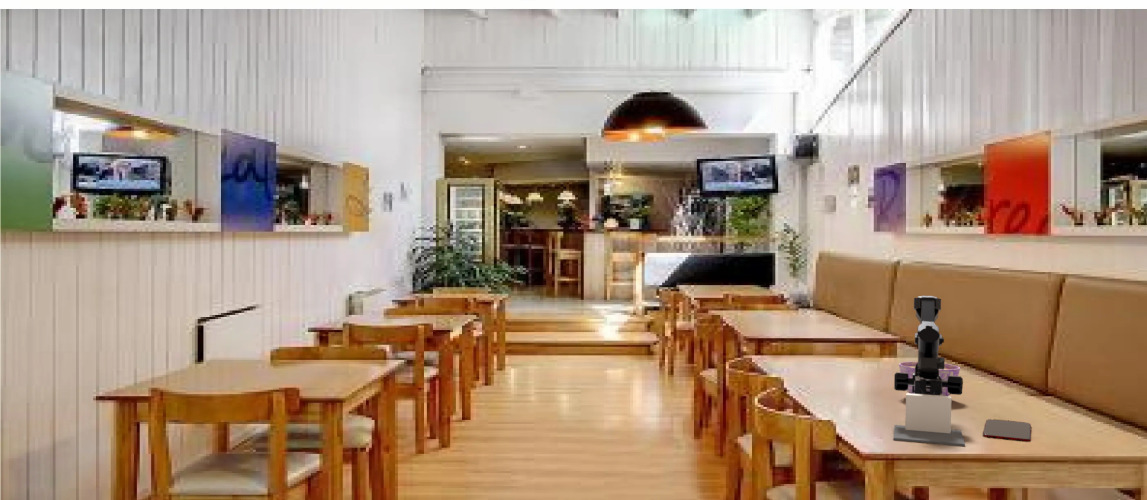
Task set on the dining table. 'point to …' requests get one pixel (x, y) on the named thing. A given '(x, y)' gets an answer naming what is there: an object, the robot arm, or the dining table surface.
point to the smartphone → (1007, 430)
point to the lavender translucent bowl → (948, 371)
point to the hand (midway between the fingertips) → (927, 406)
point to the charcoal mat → (929, 436)
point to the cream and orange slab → (928, 413)
